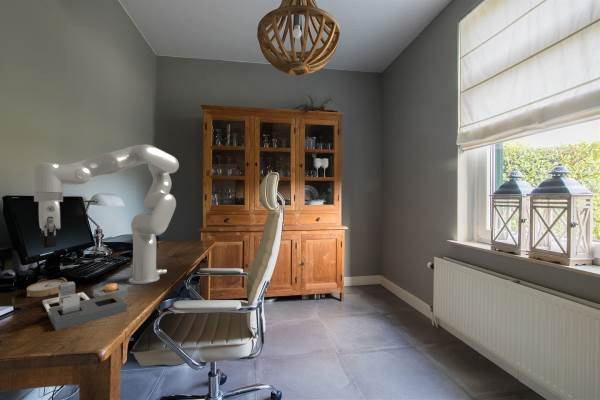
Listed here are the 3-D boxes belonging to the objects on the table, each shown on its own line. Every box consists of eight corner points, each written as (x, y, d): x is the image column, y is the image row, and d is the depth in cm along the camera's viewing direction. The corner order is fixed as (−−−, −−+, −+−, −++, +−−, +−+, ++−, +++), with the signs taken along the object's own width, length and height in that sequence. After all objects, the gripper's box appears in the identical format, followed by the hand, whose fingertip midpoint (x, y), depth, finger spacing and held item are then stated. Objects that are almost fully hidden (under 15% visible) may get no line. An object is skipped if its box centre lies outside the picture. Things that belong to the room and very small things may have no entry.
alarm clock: (19, 292, 101) (38, 275, 115) (20, 304, 102) (39, 286, 116) (57, 289, 106) (72, 272, 119) (58, 300, 107) (72, 283, 120)
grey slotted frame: (113, 302, 101) (114, 294, 101) (126, 312, 92) (126, 304, 92) (48, 317, 87) (48, 308, 87) (55, 332, 78) (55, 321, 78)
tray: (83, 295, 106) (83, 292, 106) (90, 303, 99) (90, 299, 99) (42, 304, 98) (42, 300, 98) (47, 313, 90) (47, 309, 90)
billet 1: (72, 300, 101) (72, 281, 101) (75, 302, 98) (75, 283, 98) (58, 303, 98) (58, 283, 98) (59, 306, 95) (60, 286, 95)
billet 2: (76, 314, 89) (76, 293, 89) (79, 318, 86) (79, 296, 86) (59, 318, 86) (60, 296, 85) (62, 322, 83) (62, 299, 83)
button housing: (120, 291, 111) (120, 284, 111) (127, 297, 106) (127, 289, 106) (93, 297, 105) (93, 290, 105) (99, 304, 99) (99, 295, 99)
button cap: (115, 288, 108) (115, 282, 108) (118, 290, 105) (118, 284, 105) (103, 291, 105) (103, 284, 105) (106, 293, 102) (106, 287, 102)
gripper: (66, 197, 93) (66, 247, 93) (59, 197, 105) (58, 241, 105) (36, 197, 88) (35, 250, 88) (32, 197, 99) (31, 243, 99)
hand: (48, 245), depth 96 cm, fingers open, 9 cm apart
